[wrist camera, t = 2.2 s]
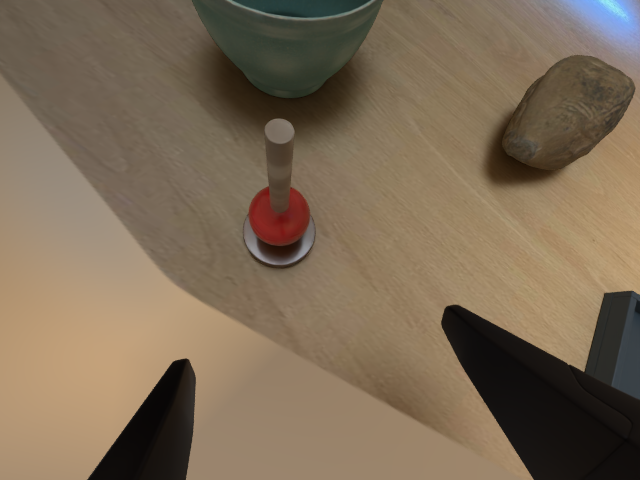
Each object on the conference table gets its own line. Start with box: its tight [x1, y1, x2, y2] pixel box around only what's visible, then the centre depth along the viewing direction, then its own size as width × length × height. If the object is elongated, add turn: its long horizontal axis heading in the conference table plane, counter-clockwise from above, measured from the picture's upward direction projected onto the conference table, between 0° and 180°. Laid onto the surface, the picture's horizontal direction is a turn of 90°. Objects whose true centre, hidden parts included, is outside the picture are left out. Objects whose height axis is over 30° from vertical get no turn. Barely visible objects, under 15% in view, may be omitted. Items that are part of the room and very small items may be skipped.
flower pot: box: [192, 0, 383, 98], centre depth 25 cm, size 16×16×11 cm
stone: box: [502, 55, 635, 170], centre depth 28 cm, size 17×9×8 cm, turn 132°
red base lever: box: [243, 118, 315, 268], centre depth 18 cm, size 6×6×14 cm
